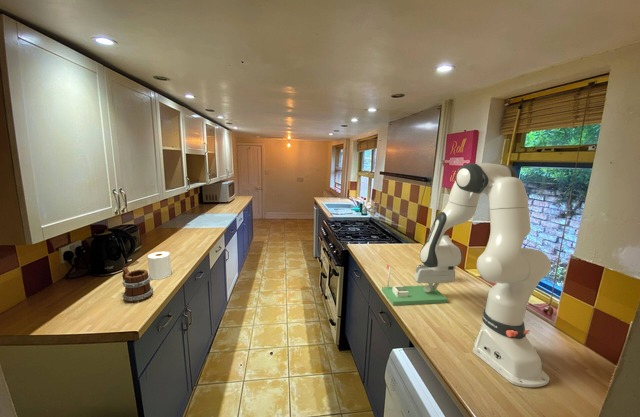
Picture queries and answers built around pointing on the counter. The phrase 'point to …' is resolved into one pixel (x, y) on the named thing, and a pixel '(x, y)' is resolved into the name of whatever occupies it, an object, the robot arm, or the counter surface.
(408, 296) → the green
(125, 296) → the wooden bucket
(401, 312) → the counter surface
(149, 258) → the toilet paper
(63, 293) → the counter surface
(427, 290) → the ball
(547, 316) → the counter surface
